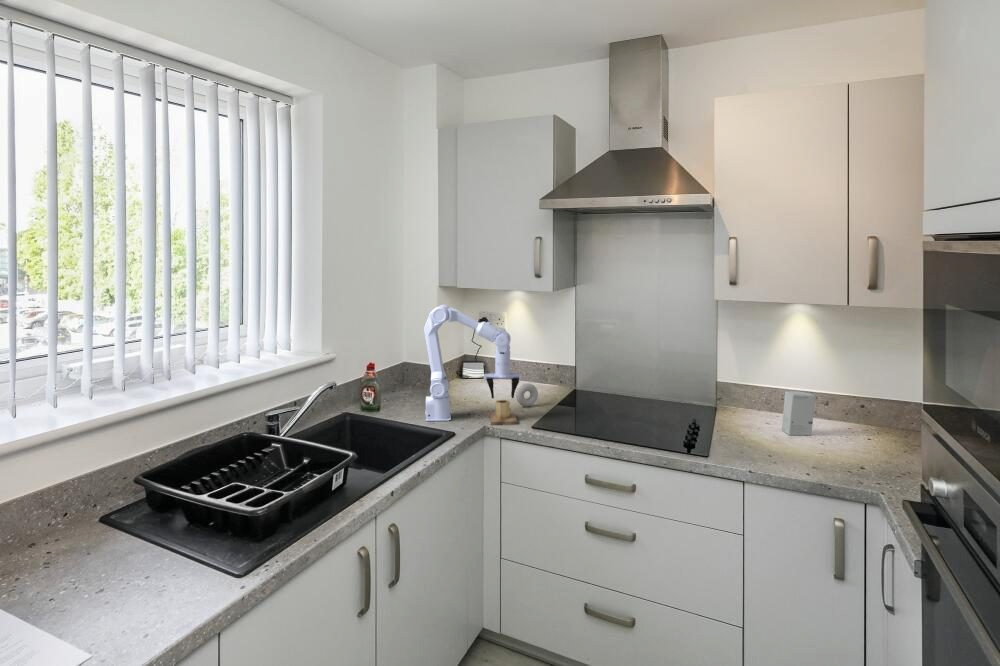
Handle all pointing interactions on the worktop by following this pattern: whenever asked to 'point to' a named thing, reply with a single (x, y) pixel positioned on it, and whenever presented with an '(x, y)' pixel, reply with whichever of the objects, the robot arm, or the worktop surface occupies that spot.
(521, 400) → the donut
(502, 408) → the hub
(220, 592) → the worktop surface
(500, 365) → the robot arm
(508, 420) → the shaft stand
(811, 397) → the skincare box
